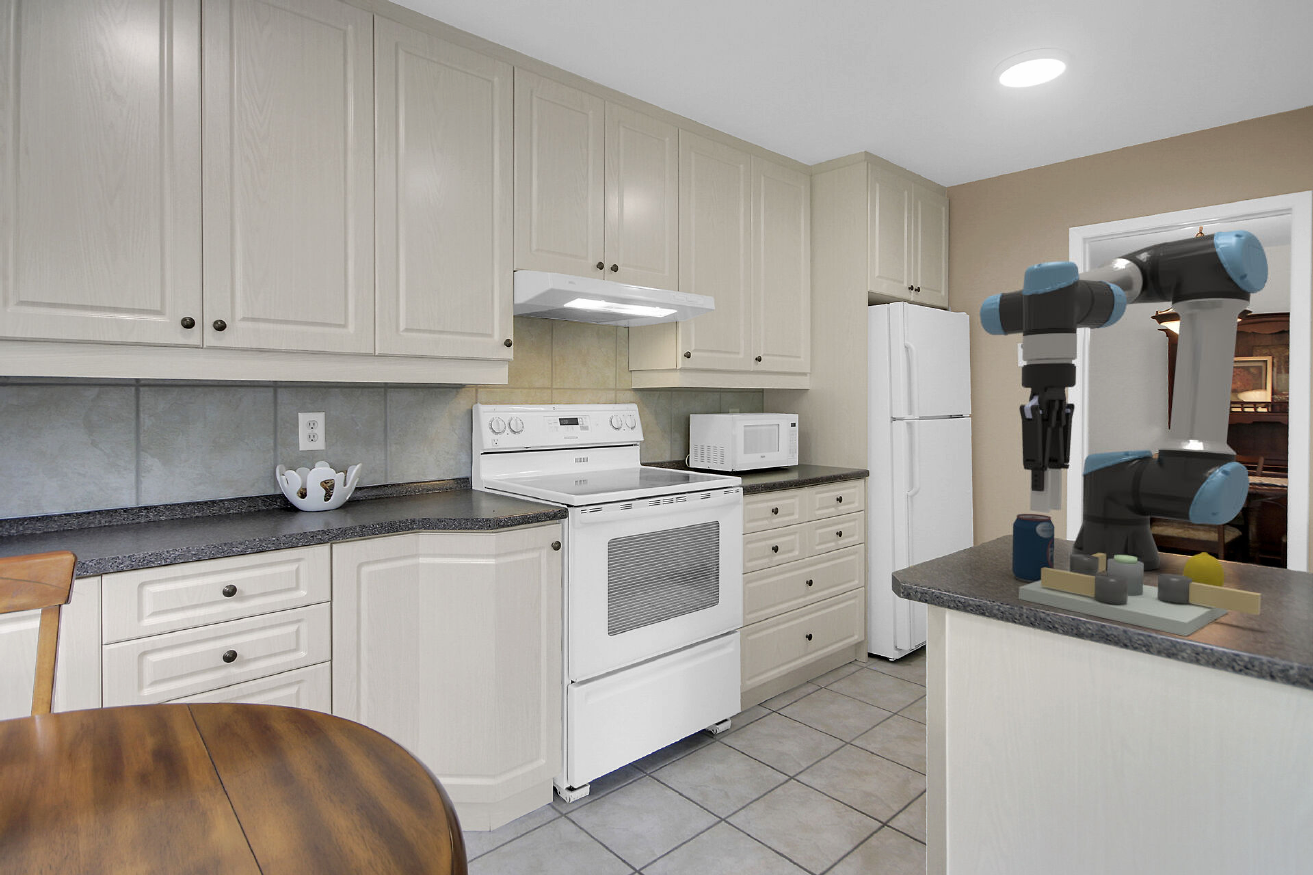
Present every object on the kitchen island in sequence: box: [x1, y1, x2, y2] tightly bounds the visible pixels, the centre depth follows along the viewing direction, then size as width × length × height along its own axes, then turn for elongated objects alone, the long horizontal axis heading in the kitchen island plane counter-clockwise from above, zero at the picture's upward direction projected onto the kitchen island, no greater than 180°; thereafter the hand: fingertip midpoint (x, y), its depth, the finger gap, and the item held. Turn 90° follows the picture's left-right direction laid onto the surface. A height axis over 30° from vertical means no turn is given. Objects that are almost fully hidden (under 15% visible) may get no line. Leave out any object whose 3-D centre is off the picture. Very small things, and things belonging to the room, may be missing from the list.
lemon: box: [1182, 552, 1226, 587], centre depth 119 cm, size 6×6×8 cm
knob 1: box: [1069, 553, 1107, 576], centre depth 128 cm, size 10×4×4 cm, turn 126°
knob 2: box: [1157, 573, 1262, 616], centre depth 108 cm, size 13×4×4 cm, turn 36°
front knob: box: [1041, 567, 1128, 604], centre depth 115 cm, size 13×4×4 cm, turn 36°
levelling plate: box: [1018, 555, 1229, 637], centre depth 116 cm, size 18×24×8 cm
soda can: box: [1011, 513, 1055, 583], centre depth 133 cm, size 7×7×12 cm
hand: (1045, 509), depth 113 cm, fingers open, 3 cm apart
